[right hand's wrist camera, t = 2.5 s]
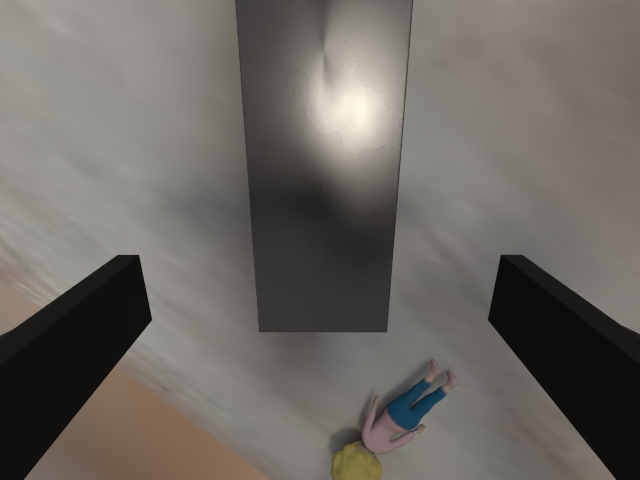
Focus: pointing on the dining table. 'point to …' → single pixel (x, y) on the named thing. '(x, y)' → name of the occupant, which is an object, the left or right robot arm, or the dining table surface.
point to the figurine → (388, 430)
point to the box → (323, 156)
